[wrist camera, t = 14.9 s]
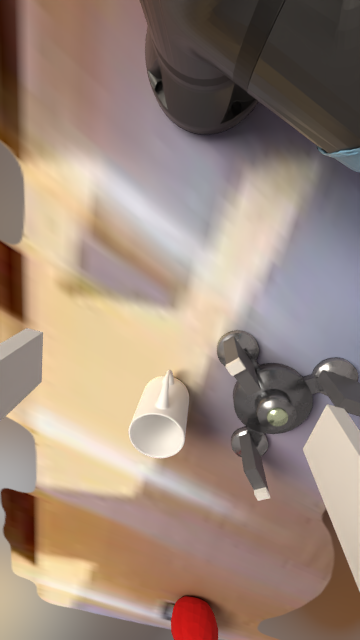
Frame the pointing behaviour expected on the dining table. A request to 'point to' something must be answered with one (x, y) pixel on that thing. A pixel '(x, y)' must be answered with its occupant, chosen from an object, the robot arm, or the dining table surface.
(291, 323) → the dining table surface
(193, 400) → the dining table surface
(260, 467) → the dark grey angled finger
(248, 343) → the tribrach
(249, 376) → the knob
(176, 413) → the mug
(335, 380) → the knob
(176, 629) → the tomato
